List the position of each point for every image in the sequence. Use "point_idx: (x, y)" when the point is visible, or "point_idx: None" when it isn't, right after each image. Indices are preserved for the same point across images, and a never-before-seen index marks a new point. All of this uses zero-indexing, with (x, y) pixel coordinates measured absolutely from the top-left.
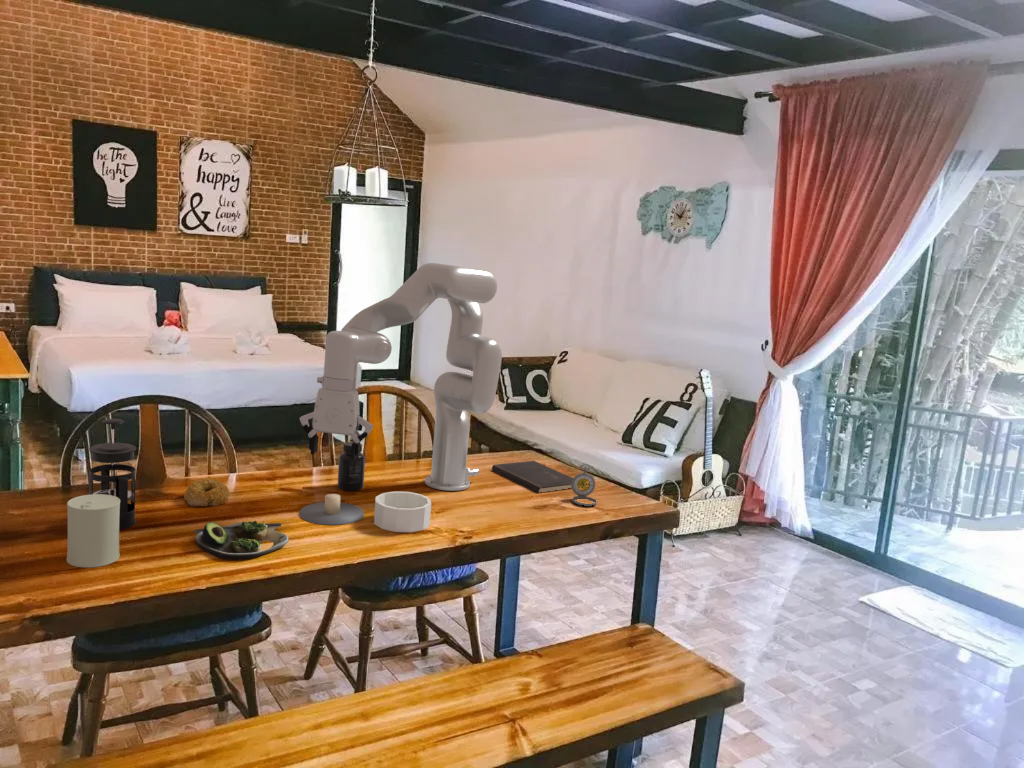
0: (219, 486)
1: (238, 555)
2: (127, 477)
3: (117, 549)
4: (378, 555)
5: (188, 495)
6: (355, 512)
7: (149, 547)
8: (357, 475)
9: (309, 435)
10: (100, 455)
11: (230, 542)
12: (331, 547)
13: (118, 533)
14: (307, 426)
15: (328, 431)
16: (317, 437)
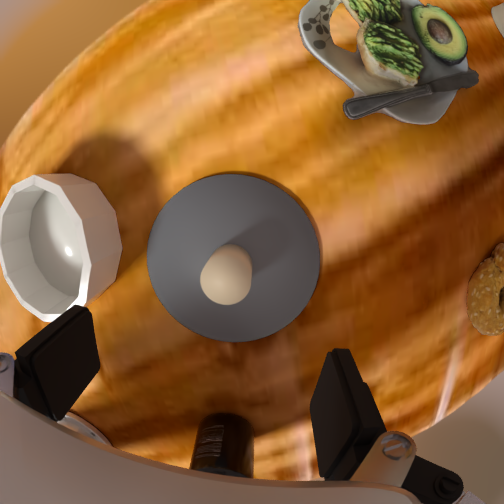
0: (495, 300)
1: None
2: None
3: (502, 17)
4: (101, 40)
5: None
6: (169, 274)
7: (492, 49)
8: (203, 440)
9: (401, 443)
10: None
11: (406, 24)
12: (194, 38)
13: None
14: (437, 500)
15: (186, 481)
16: (327, 464)
